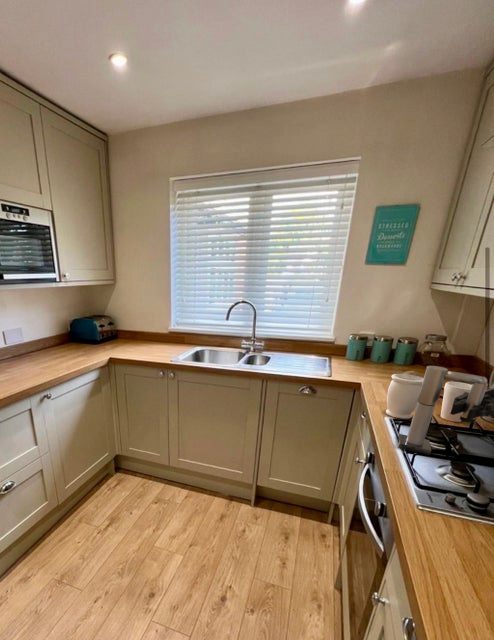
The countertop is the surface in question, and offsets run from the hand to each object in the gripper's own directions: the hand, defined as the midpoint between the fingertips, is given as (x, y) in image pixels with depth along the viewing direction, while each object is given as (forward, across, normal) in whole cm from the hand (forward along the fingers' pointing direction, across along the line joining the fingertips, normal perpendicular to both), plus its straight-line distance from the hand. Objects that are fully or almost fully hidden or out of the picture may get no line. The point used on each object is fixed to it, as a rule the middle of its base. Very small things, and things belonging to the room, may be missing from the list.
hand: (461, 412), depth 88 cm
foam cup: (-39, +16, -16) cm, 45 cm away
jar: (-24, +26, -16) cm, 39 cm away
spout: (-4, +5, -3) cm, 7 cm away
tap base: (-2, +10, -16) cm, 18 cm away
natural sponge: (-57, +41, -16) cm, 72 cm away
